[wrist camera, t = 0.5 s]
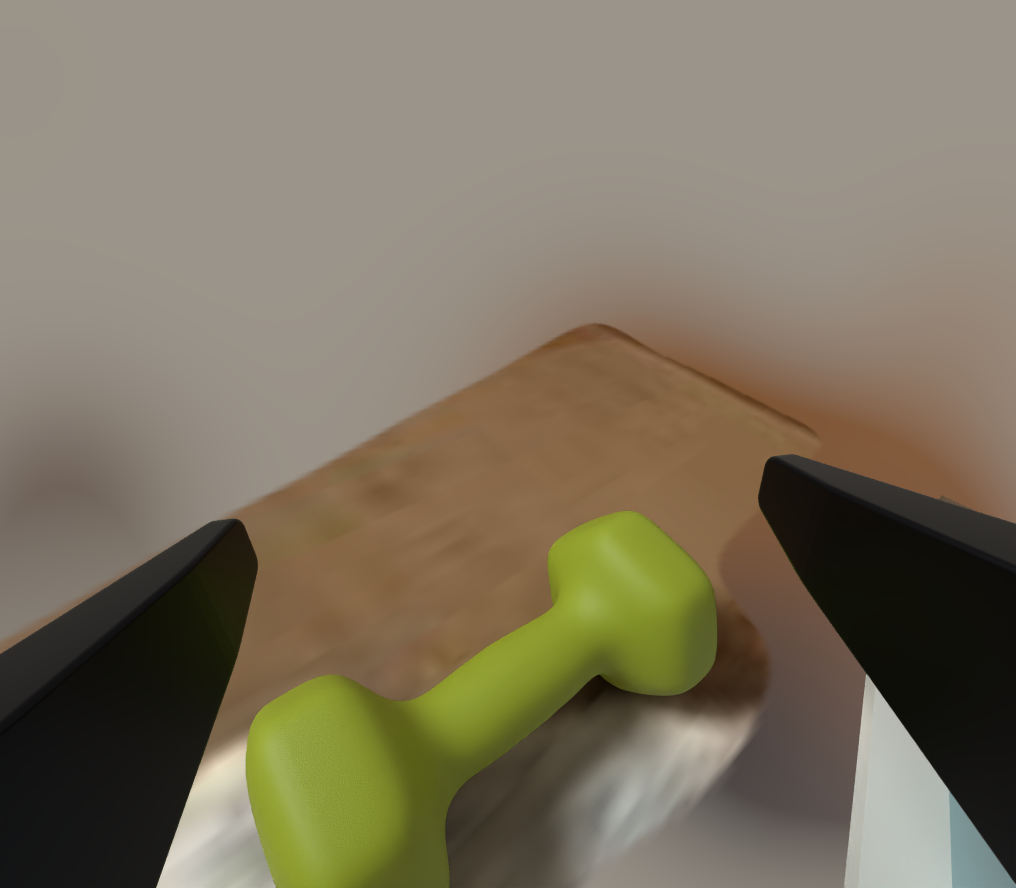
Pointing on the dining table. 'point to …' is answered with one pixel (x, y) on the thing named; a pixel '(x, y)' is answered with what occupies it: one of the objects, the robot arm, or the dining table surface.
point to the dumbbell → (469, 713)
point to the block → (972, 855)
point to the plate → (896, 808)
